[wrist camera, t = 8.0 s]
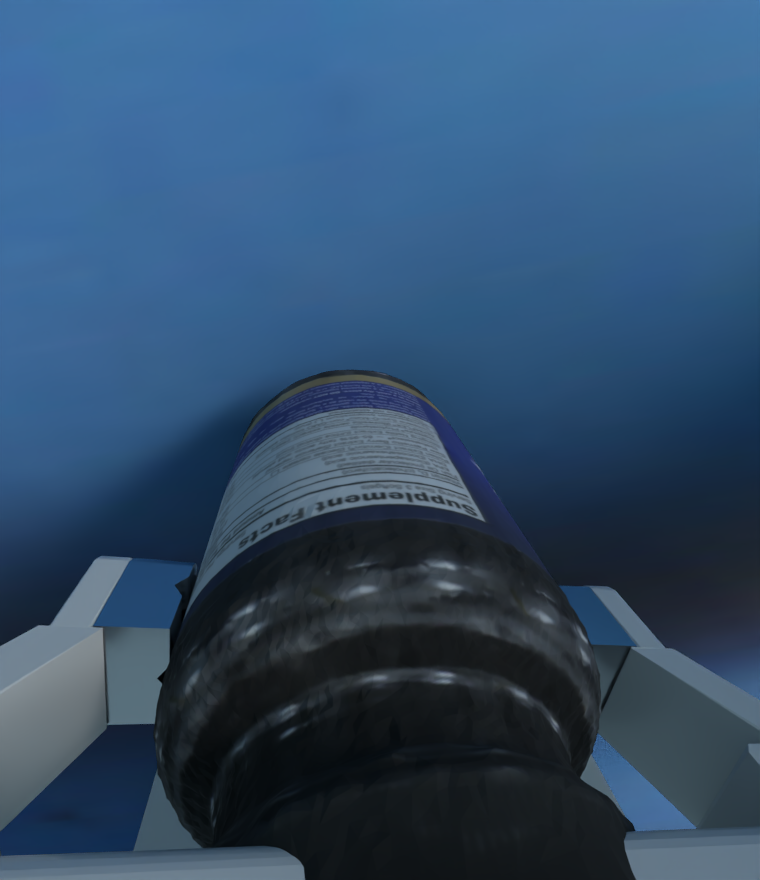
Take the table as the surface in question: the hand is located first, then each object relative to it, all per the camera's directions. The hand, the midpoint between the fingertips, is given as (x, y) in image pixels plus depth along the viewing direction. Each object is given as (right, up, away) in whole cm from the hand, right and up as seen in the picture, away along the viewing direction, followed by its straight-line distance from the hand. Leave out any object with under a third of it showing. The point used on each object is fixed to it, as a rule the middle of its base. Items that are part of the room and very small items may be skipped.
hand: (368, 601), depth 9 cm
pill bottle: (-1, +2, +5) cm, 6 cm away
